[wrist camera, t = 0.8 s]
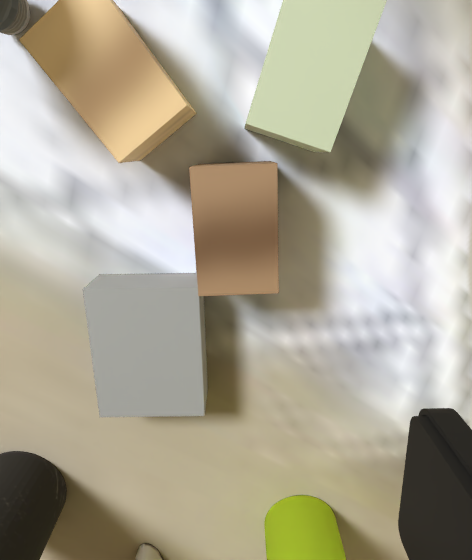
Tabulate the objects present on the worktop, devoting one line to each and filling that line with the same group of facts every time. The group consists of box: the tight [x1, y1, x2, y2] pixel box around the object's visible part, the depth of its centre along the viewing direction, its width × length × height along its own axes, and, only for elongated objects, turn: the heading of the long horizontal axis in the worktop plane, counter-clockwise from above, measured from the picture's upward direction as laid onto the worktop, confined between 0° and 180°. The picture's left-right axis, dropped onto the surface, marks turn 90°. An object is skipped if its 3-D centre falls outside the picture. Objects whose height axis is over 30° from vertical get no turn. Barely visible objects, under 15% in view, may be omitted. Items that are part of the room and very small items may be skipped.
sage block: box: [244, 0, 387, 152], centre depth 22 cm, size 7×4×5 cm, turn 162°
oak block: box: [19, 0, 197, 163], centre depth 22 cm, size 7×4×5 cm, turn 37°
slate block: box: [83, 273, 208, 417], centre depth 28 cm, size 9×7×4 cm
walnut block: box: [189, 161, 279, 296], centre depth 25 cm, size 7×4×5 cm, turn 2°
